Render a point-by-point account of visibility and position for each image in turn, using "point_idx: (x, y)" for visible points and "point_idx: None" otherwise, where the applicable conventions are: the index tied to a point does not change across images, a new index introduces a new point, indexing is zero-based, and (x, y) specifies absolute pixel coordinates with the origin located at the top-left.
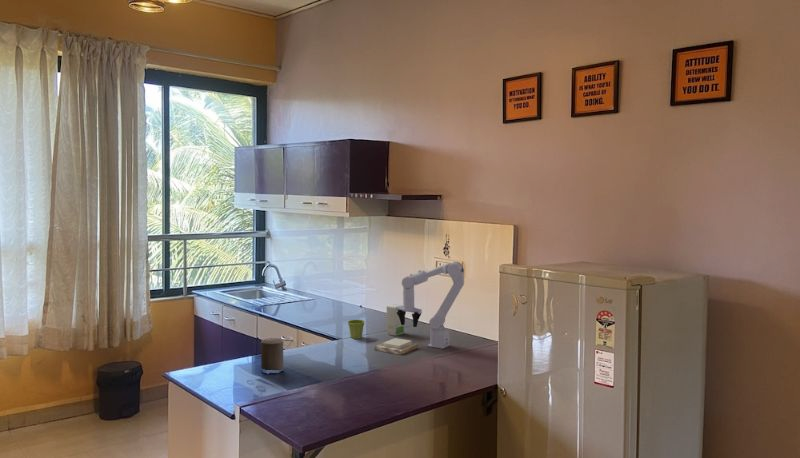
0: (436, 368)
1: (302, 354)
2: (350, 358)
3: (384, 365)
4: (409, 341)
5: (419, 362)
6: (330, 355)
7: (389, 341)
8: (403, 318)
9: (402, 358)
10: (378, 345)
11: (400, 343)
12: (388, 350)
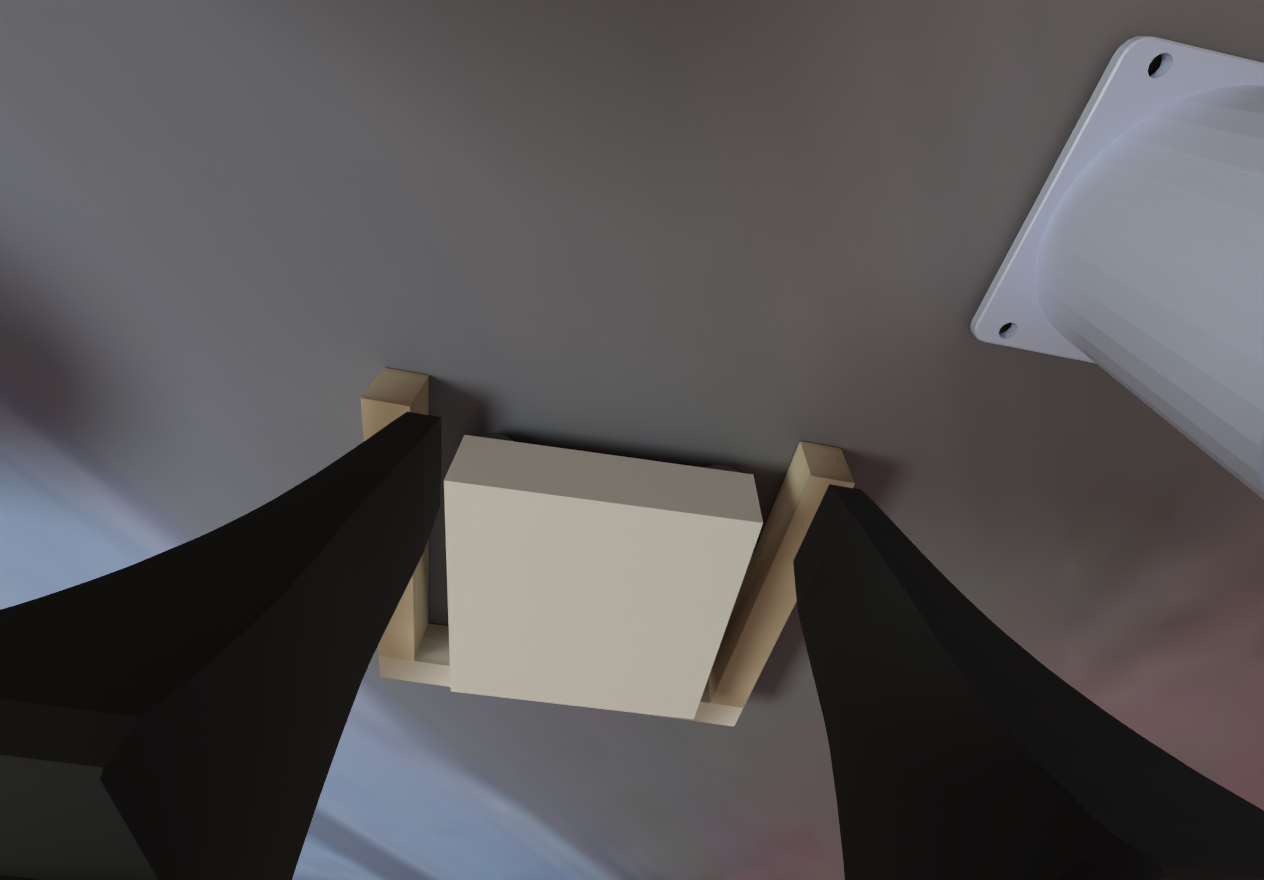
0: None
1: None
2: (394, 817)
3: (706, 854)
4: (747, 564)
5: None
6: None
7: (485, 632)
8: (357, 582)
9: (780, 745)
10: (407, 659)
11: (664, 657)
12: None
